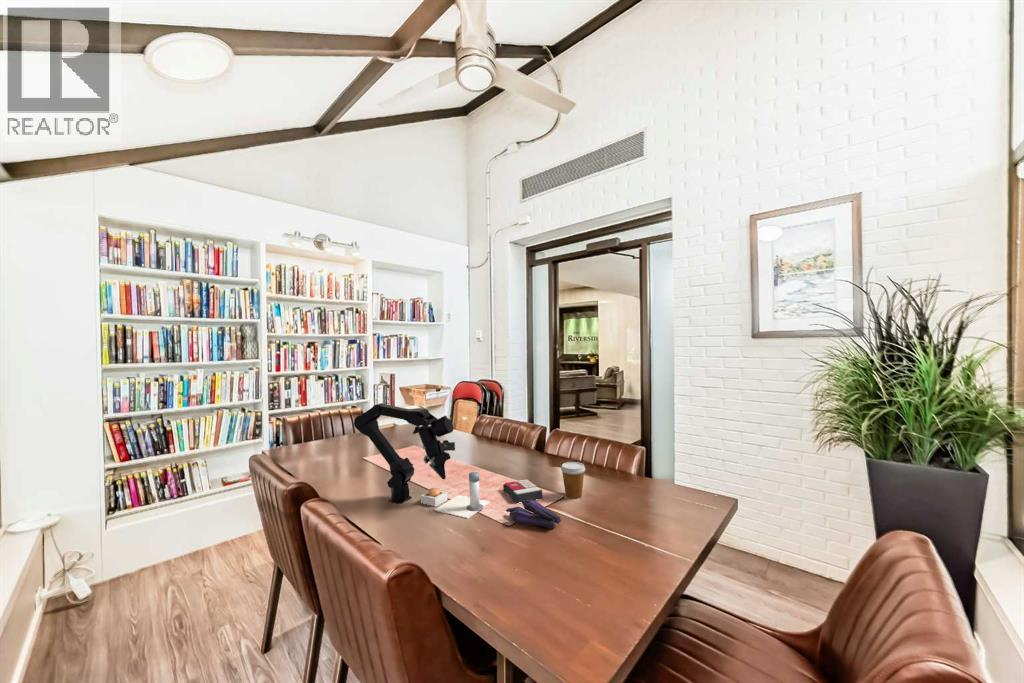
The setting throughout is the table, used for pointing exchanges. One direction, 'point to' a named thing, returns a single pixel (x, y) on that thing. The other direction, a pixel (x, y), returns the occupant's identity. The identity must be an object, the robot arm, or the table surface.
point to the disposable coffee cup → (573, 479)
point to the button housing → (434, 499)
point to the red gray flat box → (522, 490)
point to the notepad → (460, 507)
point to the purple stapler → (533, 515)
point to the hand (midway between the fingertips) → (444, 479)
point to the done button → (434, 492)
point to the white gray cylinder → (474, 490)
